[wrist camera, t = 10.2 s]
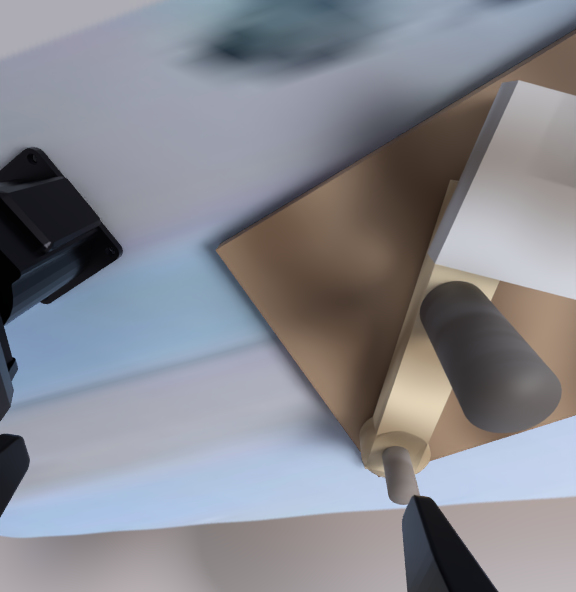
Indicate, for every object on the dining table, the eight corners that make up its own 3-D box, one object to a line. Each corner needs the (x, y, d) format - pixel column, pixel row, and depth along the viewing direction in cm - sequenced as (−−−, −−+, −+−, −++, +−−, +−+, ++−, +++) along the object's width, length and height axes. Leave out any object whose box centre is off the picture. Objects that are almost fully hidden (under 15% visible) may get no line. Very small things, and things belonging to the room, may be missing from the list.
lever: (413, 462, 24) (448, 597, 17) (353, 452, 24) (364, 583, 17) (530, 192, 16) (676, 250, 9) (439, 177, 16) (520, 225, 9)
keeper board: (376, 464, 26) (387, 533, 22) (217, 239, 20) (188, 275, 15) (690, 362, 21) (786, 428, 16) (614, -3, 14) (742, -52, 10)
